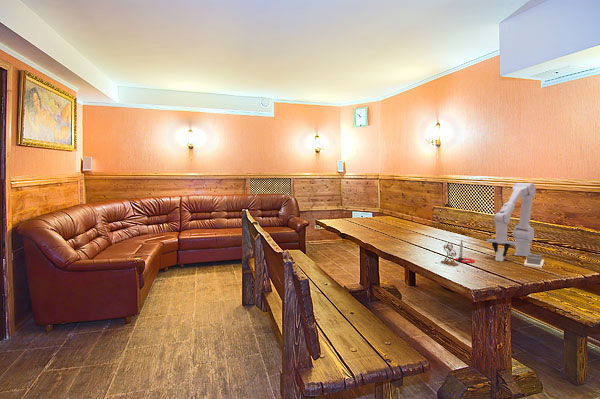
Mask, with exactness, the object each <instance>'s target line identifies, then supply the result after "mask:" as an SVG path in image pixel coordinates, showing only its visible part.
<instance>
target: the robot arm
mask: <svg viewBox="0 0 600 399" xmlns="http://www.w3.org/2000/svg"><path fill="white" fill-rule="evenodd" d="M536 188H537V187H536V186H535V183H533V182H515V183H514V184H513V186H512V193H511V195H510V197H509V199H508V201H506V202H504V204H502V207H501V208H500V210H499V211H498V212H496V213H495V214H494V215H493V221H494V225H495V239H494V238H492V239H491V238H487V239H486V243H487V244H489V243H491V246H492V248H493V250H494V254H495V255H496V251H497V250H498V249H499V245H504V247H503V249H504V257H505V258H507V252H508V250H509V248H510V246H515V252H514V253H513V255H514V256H520V257H526V258H527V257H528V254H532V253H531V242H532V241H533V240H534V238H535V233H534V232H535V231H534V230H535V229H534V228H533V227H532V226H531V225H530V222H531V214H532V209H533V200H534V198H535V197H536V190H537V189H536ZM520 198H521V199H522V200H521V207H520V215H519V219H518V220H519V221H518V222H519V223H518V224H516V225H515V226H514V228H513V231H512V237H513V238H514V240H515V241H513V240H512V241H511V240H508V224H509V223H510V221H511V217H512V213H513V212H514V210H515V208H516V207H515V205H516V203H517V202H518V201H519V199H520Z"/></svg>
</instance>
